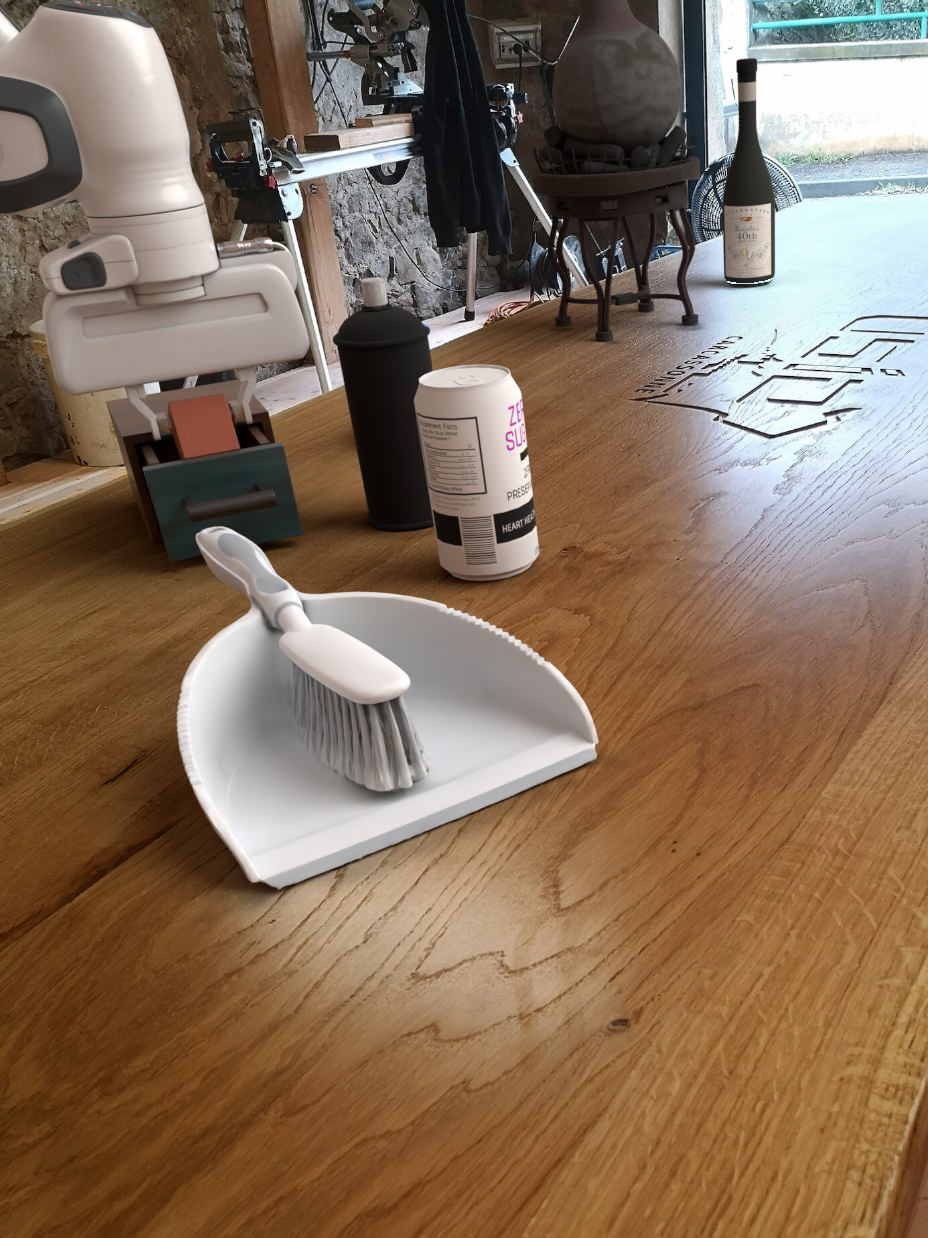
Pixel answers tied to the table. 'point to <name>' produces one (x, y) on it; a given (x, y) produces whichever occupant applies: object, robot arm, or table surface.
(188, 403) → the block
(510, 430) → the supplement can
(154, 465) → the drawer
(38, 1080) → the table surface
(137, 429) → the cabinet
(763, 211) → the wine bottle
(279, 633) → the dustpan and brush
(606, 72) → the brazier
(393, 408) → the aerosol can
